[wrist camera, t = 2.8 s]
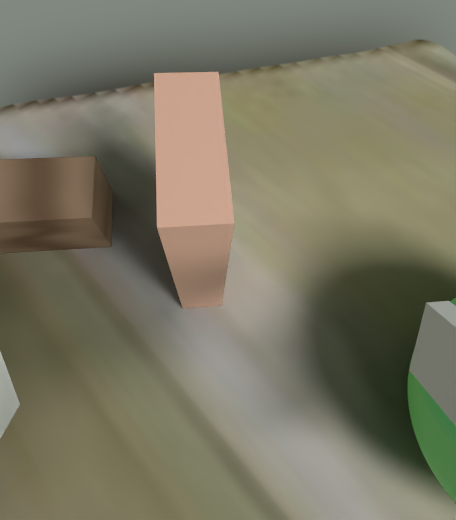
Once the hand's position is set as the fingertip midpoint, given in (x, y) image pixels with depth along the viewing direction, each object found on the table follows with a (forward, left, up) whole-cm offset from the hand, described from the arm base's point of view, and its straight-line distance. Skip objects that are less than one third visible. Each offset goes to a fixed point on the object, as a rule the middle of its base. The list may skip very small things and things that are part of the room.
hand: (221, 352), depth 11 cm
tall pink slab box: (-1, +9, -15) cm, 17 cm away
